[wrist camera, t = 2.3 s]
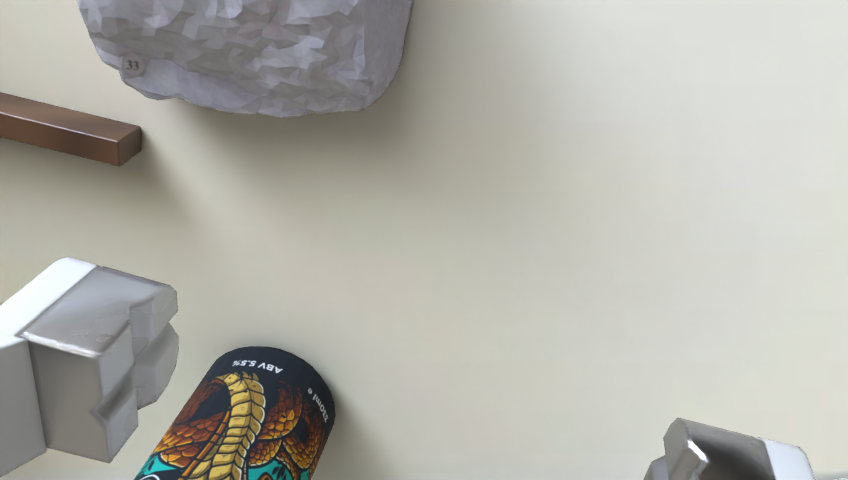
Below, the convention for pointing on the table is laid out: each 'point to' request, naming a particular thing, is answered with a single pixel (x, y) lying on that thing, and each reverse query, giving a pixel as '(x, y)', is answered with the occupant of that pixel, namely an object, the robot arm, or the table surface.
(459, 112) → the table surface
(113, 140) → the bay
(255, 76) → the stone block
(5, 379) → the robot arm
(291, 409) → the beverage can
